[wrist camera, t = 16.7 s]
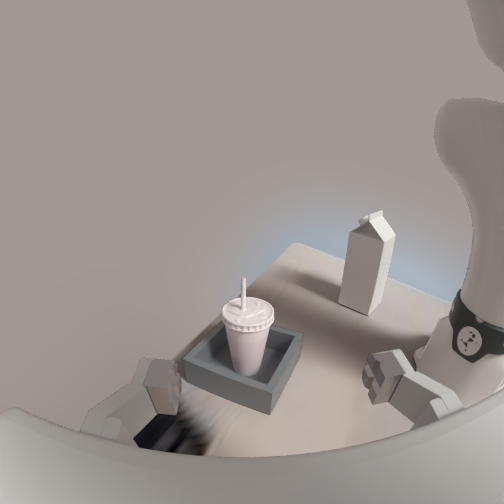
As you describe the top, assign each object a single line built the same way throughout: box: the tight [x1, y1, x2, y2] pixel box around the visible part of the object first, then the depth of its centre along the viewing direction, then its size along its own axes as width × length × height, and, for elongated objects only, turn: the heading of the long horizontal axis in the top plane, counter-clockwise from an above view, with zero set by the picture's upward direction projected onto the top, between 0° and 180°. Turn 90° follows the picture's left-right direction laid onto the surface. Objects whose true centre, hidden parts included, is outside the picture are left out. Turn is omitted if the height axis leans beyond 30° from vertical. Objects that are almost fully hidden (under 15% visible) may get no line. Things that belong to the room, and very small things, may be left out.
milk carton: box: [338, 210, 395, 315], centre depth 50 cm, size 7×7×19 cm
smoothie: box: [221, 277, 274, 376], centre depth 33 cm, size 6×6×14 cm
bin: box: [183, 320, 304, 415], centre depth 35 cm, size 12×12×4 cm
